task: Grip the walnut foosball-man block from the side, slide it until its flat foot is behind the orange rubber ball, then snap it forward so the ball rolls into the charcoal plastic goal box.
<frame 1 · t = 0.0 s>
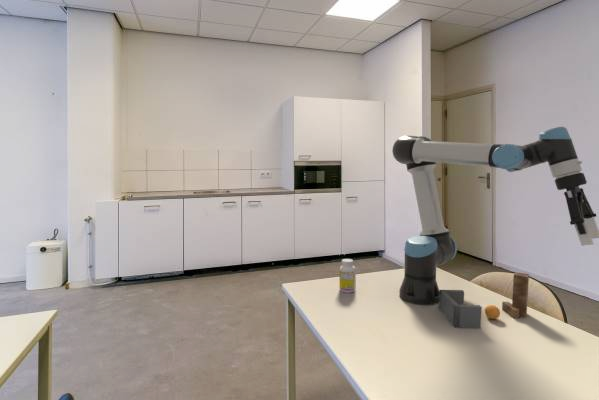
hand: (591, 241, 106), 28 cm above the table, tool tilted 20°, fingers open, 13 cm apart
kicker: (519, 314, 120), on the table
supplement bottle: (347, 290, 144), on the table
ball: (492, 311, 116), point 2 cm above the table
goal: (458, 317, 117), on the table
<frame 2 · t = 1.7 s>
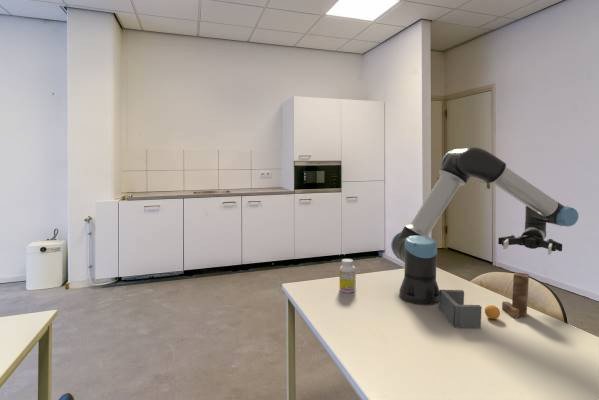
hand: (526, 248, 125), 21 cm above the table, tool horizontal, fingers open, 13 cm apart
nothing on the table moved.
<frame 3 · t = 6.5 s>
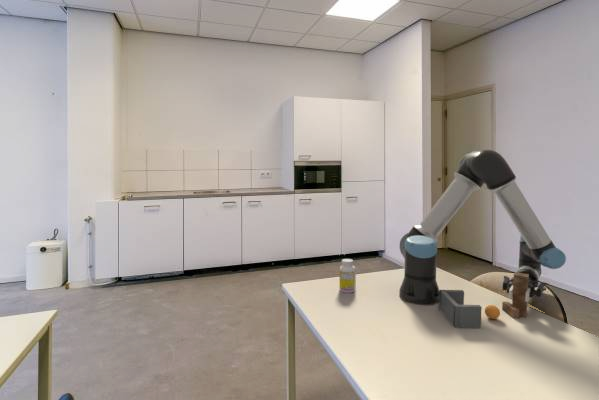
hand: (518, 296, 115), 8 cm above the table, tool horizontal, fingers closed on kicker, 4 cm apart
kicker: (519, 314, 120), on the table, touching gripper
everything else where it was.
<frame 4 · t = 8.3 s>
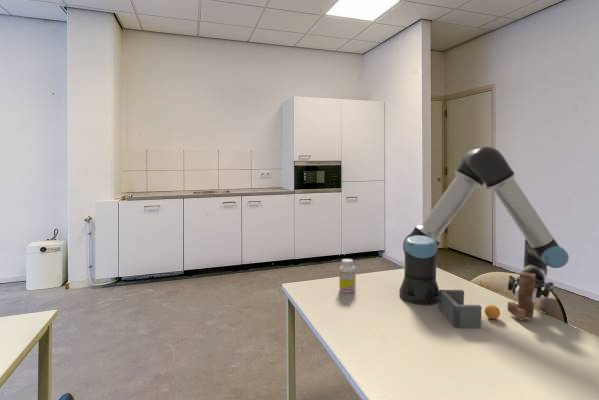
hand: (524, 296, 111), 9 cm above the table, tool horizontal, fingers closed on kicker, 4 cm apart
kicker: (525, 314, 116), point 1 cm above the table, touching gripper
everything else where it was.
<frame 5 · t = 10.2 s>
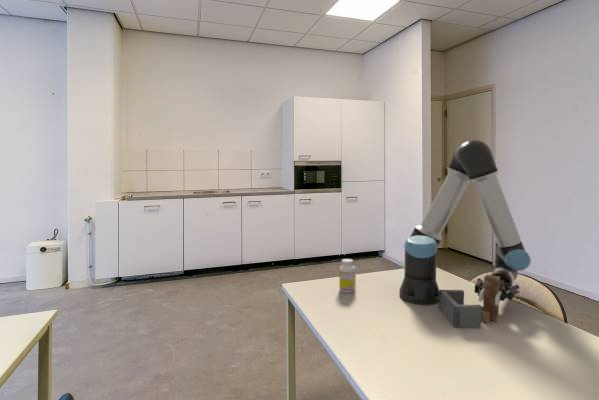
hand: (488, 299, 112), 8 cm above the table, tool horizontal, fingers closed on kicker, 4 cm apart
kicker: (490, 317, 116), on the table, touching gripper
ball: (464, 311, 117), point 2 cm above the table, tilted 134°
everything else where it was.
when the fingers open (8 cm above the table, at t = 10.2 s): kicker stays where it is, on the table.
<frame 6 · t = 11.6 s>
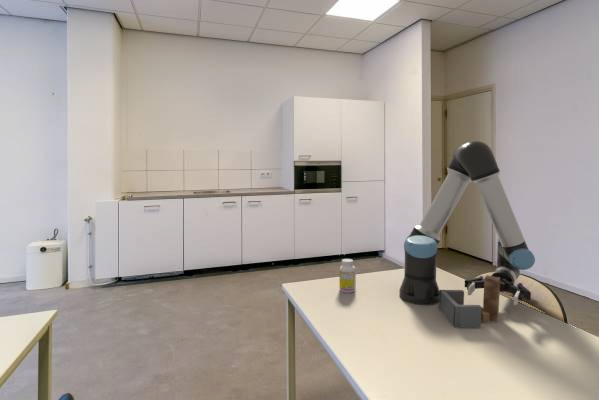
hand: (491, 296, 114), 8 cm above the table, tool horizontal, fingers open, 13 cm apart
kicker: (490, 318, 116), on the table
ball: (471, 311, 116), point 2 cm above the table, tilted 165°
everything else where it was.
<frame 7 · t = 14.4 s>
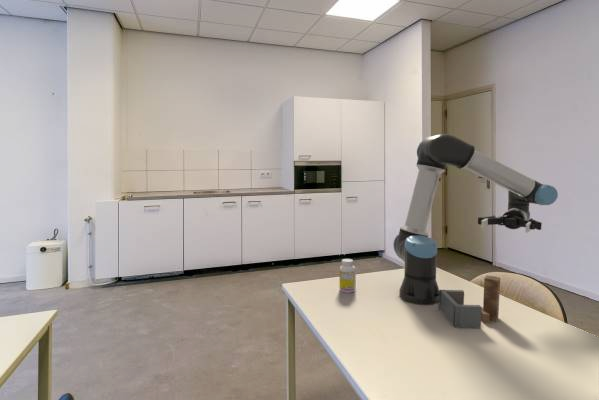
hand: (504, 226, 121), 30 cm above the table, tool horizontal, fingers open, 13 cm apart
ball: (469, 312, 116), point 2 cm above the table, tilted 166°
everything else where it was.
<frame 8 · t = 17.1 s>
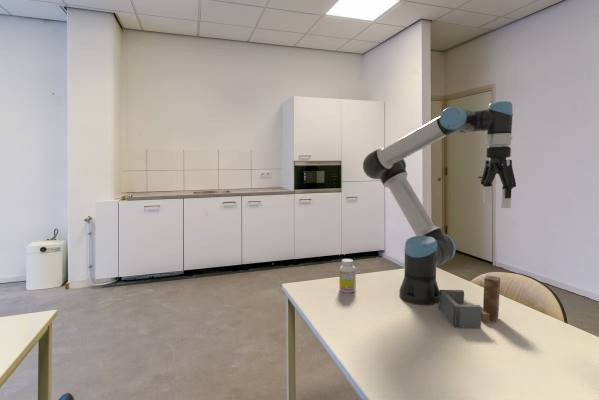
hand: (496, 205, 125), 37 cm above the table, tool pointing down, fingers open, 13 cm apart
ball: (466, 312, 116), point 2 cm above the table, tilted 142°
everything else where it was.
at the end: ball inside the target area (2.3 cm from its centre), point 2.2 cm above the table; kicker tilted 0°; the gripper is holding nothing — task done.
